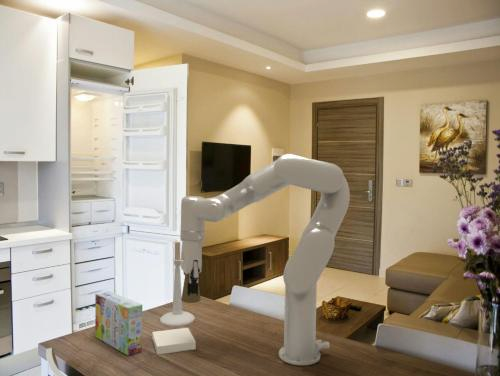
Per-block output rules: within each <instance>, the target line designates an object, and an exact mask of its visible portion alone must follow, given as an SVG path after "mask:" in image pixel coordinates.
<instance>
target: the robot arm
mask: <svg viewBox="0 0 500 376" xmlns="http://www.w3.org/2000/svg"><path fill="white" fill-rule="evenodd" d="M290 185H291V186H295V187H297V188H298V187H299V188H303V189H306V190H311V191H315V192H319V193H320V199H319V202H318V203H317V206H316V208H315V210H314V212H313V214H312V216H311V218H310V220H309V222H308V224H307V225H306V226H305V228H304V229H303V231H302V233H301V237H300V239H299V242H298V243H297V246H296V248H295V249H294V251H293V253H292V255H291V256H290V257H289V258H288V259H287V260H286V263H285V266H284V270H283V275H282V277H283V279H282V280H283V283H284V287H285V288H284V291H285V292H284V318H283V319H284V321H283V322H284V325H283V326H284V327H283V328H284V331H283V333H284V334H283V343H284V344H283V346H282V347H281V348H280V349H279V351H278V357H279V359H281V360H282V361H283V362H284V363H287V364H290V365H294V366H310V365H314V364H316V363H319V361H320V360H321V352H320V351H321V350H323V349H324V350H325V349H330V346H331V344H330V342H329V341H322V339H316V334H317V331H316V328H317V289H318V287H317V285H318V281H319V280H320V278H321V276H322V274H323V272H324V270H325V269H326V267H327V264H328V262H329V260H330V259H331V257H332V255H333V252H334V250H335V249H334V248H335V237H336V235H337V233H338V230H340V229H339V228H340V227H341V224H342V222H343V220H344V218H345V216H346V213H347V211H348V208H349V205H350V200H351V199H350V198H351V196H350V195H351V194H350V193H351V192H350V187H349V183H348V180H347V179H346V177H345V176H344V172H343V170H342V168H340V166H339V165H337V164H334V163H332V162H327V161H322V160H317V159H313V158H309V157H305V156H301V155H298V154H294V153H284V154H282V155H280V156H278V158H277V159H275V160H274V161H272V162H271V163H269V164H267V165H264V166H263V167H262V168H260V169H258V170H256V171H254V172H253V173H251V174H249V175H248V176H246V177H245V178H244V179H243V180H242V181H241V182H240V183H238V184H237V185H235V186H233V187H232V188H230V189H228V190H226V191H225V192H222V193H221V194H219V195H217V196H214V197H207V198H204V197H203V196H198V195H197V196H196V195H194V196H193V195H188V196H187V195H186V196H183V197H182V199H181V203H180V234H179V236H180V237H179V239H180V240H179V241H180V242H181V249H180V259H181V265H180V270H182V271H184V272H185V273H186V274H188V273H189V283H188V296H190V293H192V294H195V293H196V295H198V280H199V276H200V274H199V275H198V273H201V272H202V268H203V267H202V266H203V258H202V257H203V253H202V252H203V248H202V246H203V244H202V243H203V242H205V235H206V231H205V230H206V228H205V227H206V222H211V223H218V222H222V221H223V220H224V219H226V218H228V217H230V216H232V215H233V214H235V213H236V212H238V211H240V210H243V209H244V208H246V207H247V206H250V205H253V204H254V203H258V202H261V201H262V200H264V199H267V198H269V196H272V195H273V194H275V193H278V192H279V191H281V190H282V189H284V188H286V187H289V186H290ZM198 268H199V270H198ZM191 271H193V273H191ZM191 275H193V276H192V277H191Z"/></svg>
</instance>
